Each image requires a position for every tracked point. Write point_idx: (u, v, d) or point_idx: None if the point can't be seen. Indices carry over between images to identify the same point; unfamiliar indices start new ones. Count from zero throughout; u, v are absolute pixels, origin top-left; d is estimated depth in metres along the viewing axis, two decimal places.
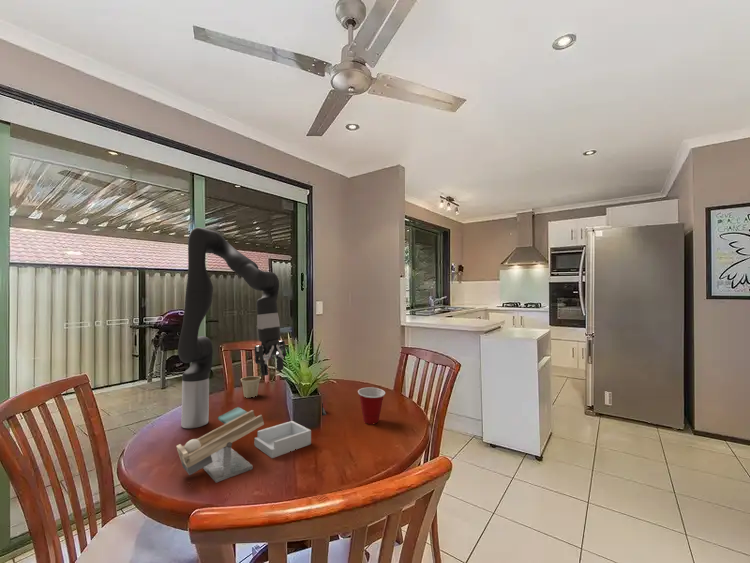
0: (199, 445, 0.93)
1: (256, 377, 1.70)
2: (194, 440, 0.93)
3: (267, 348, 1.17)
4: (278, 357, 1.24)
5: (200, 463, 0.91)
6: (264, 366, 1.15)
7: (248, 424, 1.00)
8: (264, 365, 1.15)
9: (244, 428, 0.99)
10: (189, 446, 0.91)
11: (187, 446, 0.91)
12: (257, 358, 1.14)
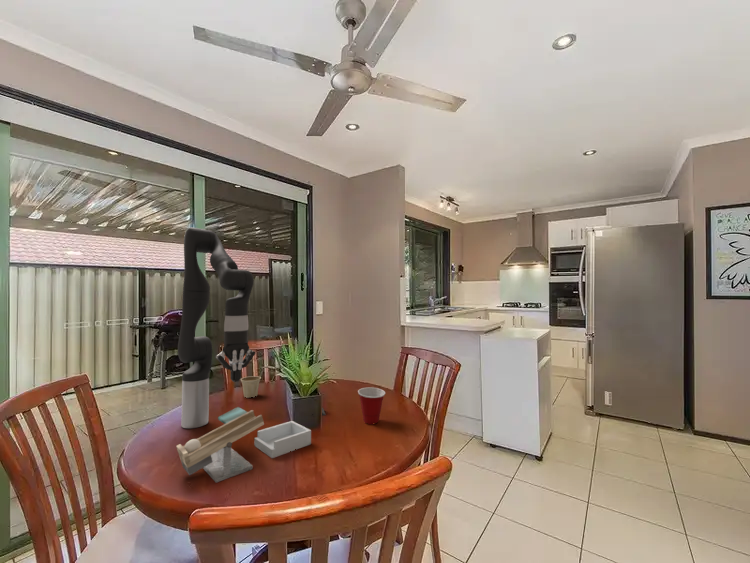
0: (199, 445, 0.93)
1: (256, 377, 1.70)
2: (194, 440, 0.93)
3: (229, 356, 1.10)
4: (236, 367, 1.13)
5: (200, 463, 0.91)
6: (233, 372, 1.11)
7: (248, 424, 1.00)
8: (233, 371, 1.11)
9: (244, 428, 0.99)
10: (189, 446, 0.91)
11: (187, 446, 0.91)
12: None
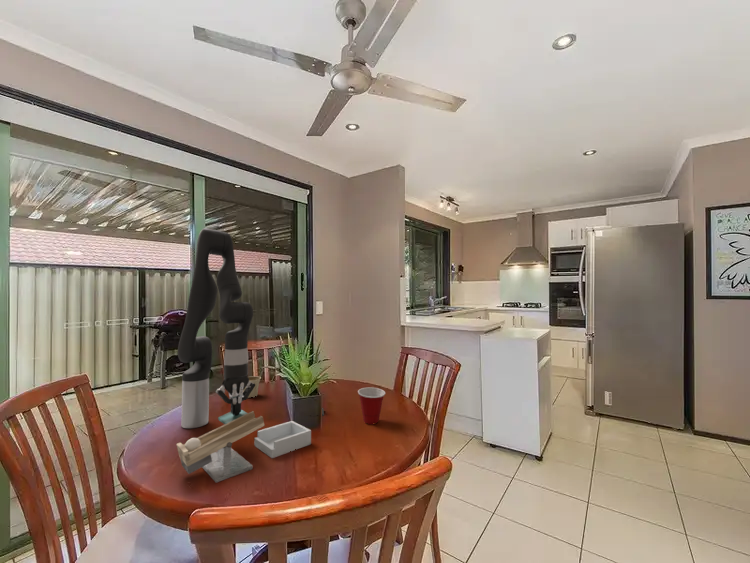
0: (199, 444, 0.93)
1: (256, 377, 1.70)
2: (194, 439, 0.93)
3: (229, 390, 1.10)
4: (236, 400, 1.13)
5: (199, 462, 0.91)
6: (233, 406, 1.11)
7: (249, 425, 1.00)
8: (233, 405, 1.11)
9: (244, 429, 1.00)
10: (189, 444, 0.91)
11: (188, 445, 0.91)
12: None
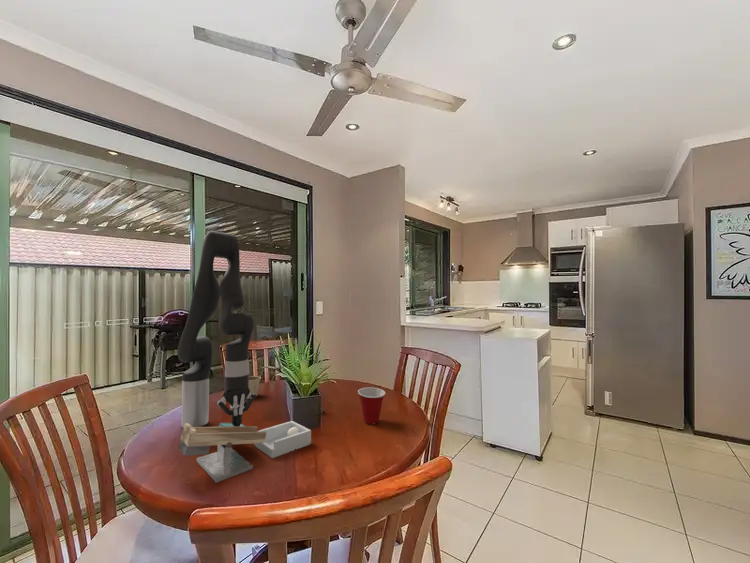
0: (292, 433, 1.13)
1: (256, 377, 1.70)
2: None
3: (230, 401, 1.10)
4: (237, 411, 1.13)
5: (198, 449, 0.91)
6: (234, 417, 1.11)
7: (252, 434, 1.01)
8: (234, 416, 1.11)
9: (247, 436, 1.00)
10: None
11: None
12: None
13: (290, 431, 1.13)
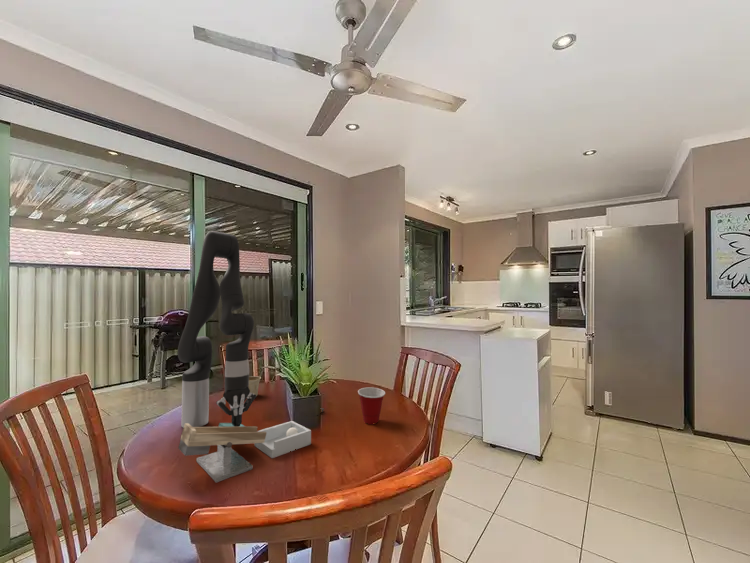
0: (290, 435, 1.12)
1: (256, 377, 1.70)
2: None
3: (230, 401, 1.10)
4: (237, 411, 1.13)
5: (198, 449, 0.91)
6: (234, 417, 1.11)
7: (252, 434, 1.01)
8: (234, 416, 1.11)
9: (247, 436, 1.00)
10: None
11: None
12: None
13: (288, 433, 1.13)
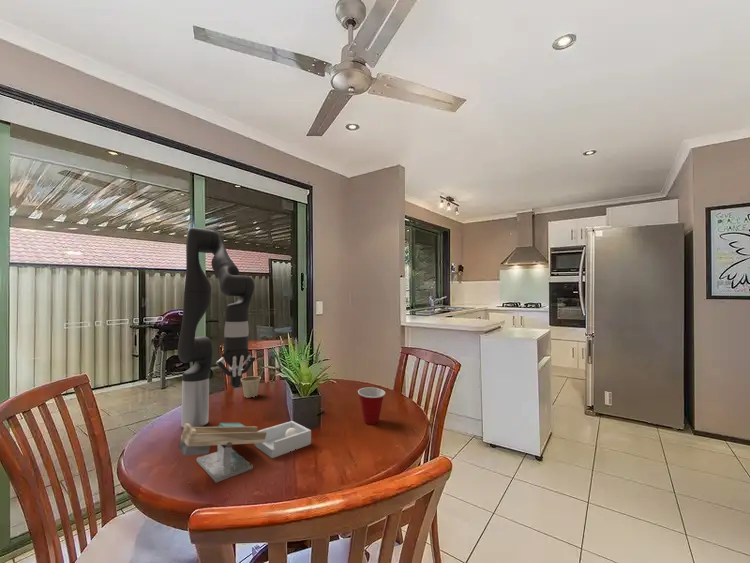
0: None
1: (256, 377, 1.70)
2: None
3: (229, 362, 1.10)
4: (236, 373, 1.13)
5: (198, 449, 0.91)
6: (233, 378, 1.11)
7: (252, 434, 1.01)
8: (233, 377, 1.11)
9: (247, 436, 1.00)
10: None
11: None
12: None
13: (287, 434, 1.12)
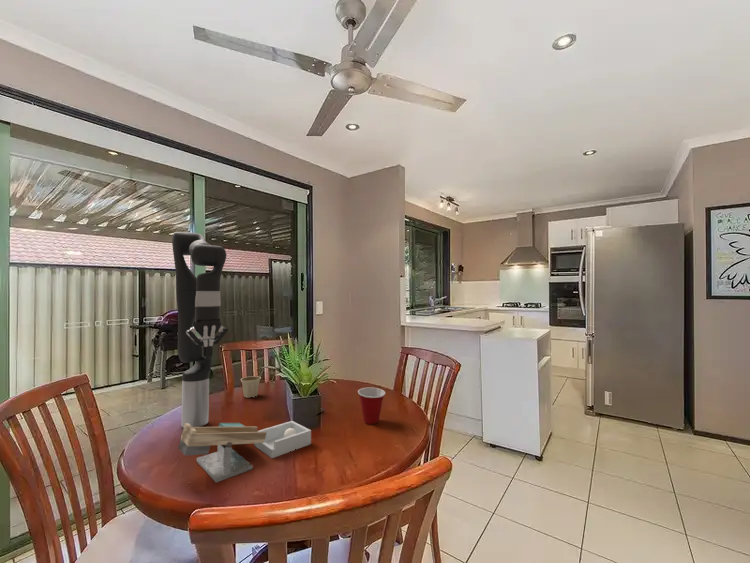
0: None
1: (256, 377, 1.70)
2: None
3: (200, 331, 1.09)
4: None
5: (198, 449, 0.91)
6: (204, 348, 1.10)
7: (252, 434, 1.01)
8: (204, 347, 1.10)
9: (247, 436, 1.00)
10: None
11: None
12: None
13: (285, 436, 1.12)
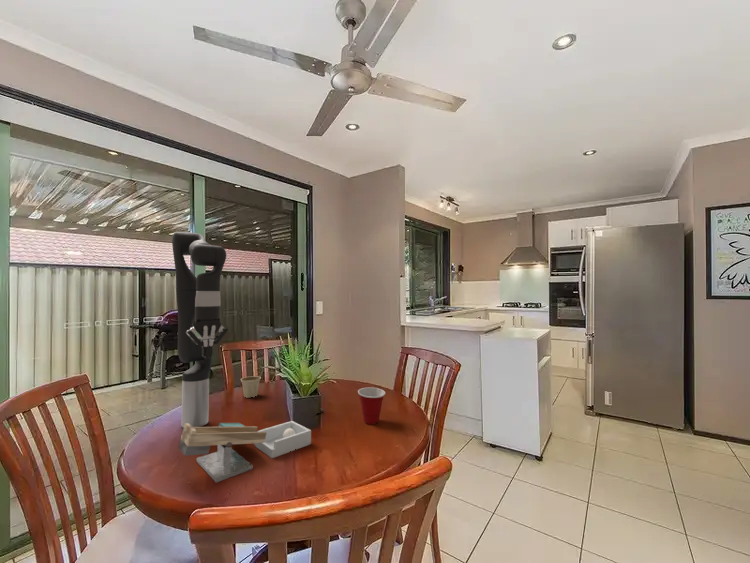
0: None
1: (256, 377, 1.70)
2: None
3: (200, 331, 1.09)
4: None
5: (198, 449, 0.91)
6: (204, 348, 1.10)
7: (252, 434, 1.01)
8: (204, 347, 1.10)
9: (247, 436, 1.00)
10: None
11: None
12: None
13: None
